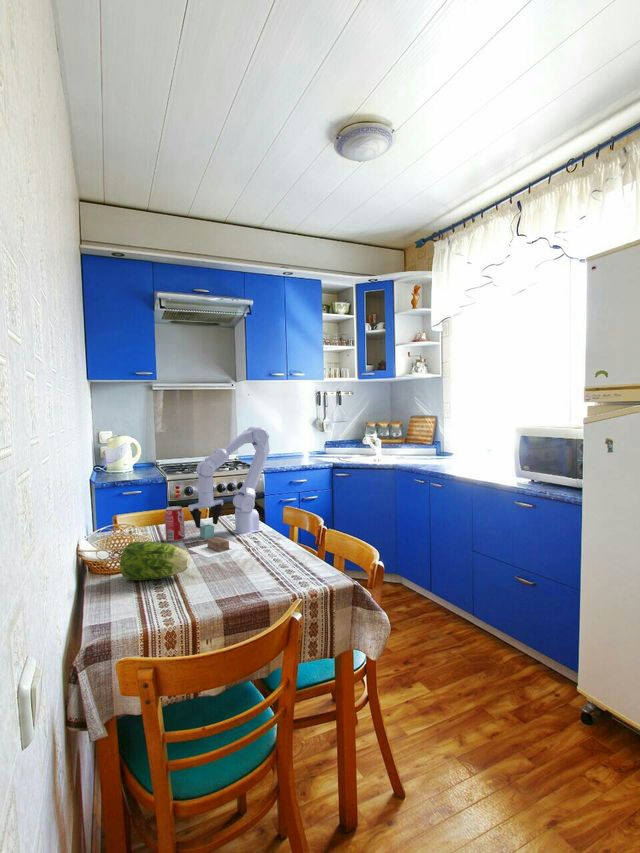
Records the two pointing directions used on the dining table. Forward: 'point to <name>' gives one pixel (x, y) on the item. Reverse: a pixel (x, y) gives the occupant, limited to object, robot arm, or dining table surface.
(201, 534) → the teal block
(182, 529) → the soda can
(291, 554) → the dining table surface
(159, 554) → the lettuce
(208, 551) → the plate
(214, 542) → the base brick
